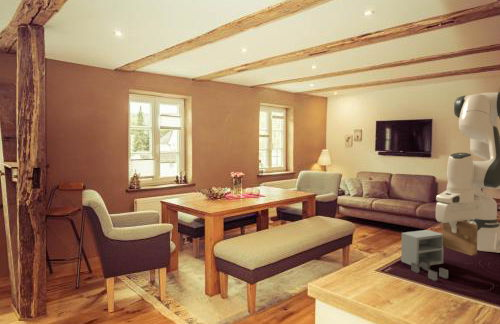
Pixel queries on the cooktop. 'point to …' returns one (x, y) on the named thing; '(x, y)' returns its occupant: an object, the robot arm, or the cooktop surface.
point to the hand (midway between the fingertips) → (459, 231)
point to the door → (461, 237)
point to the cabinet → (422, 247)
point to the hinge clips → (431, 273)
